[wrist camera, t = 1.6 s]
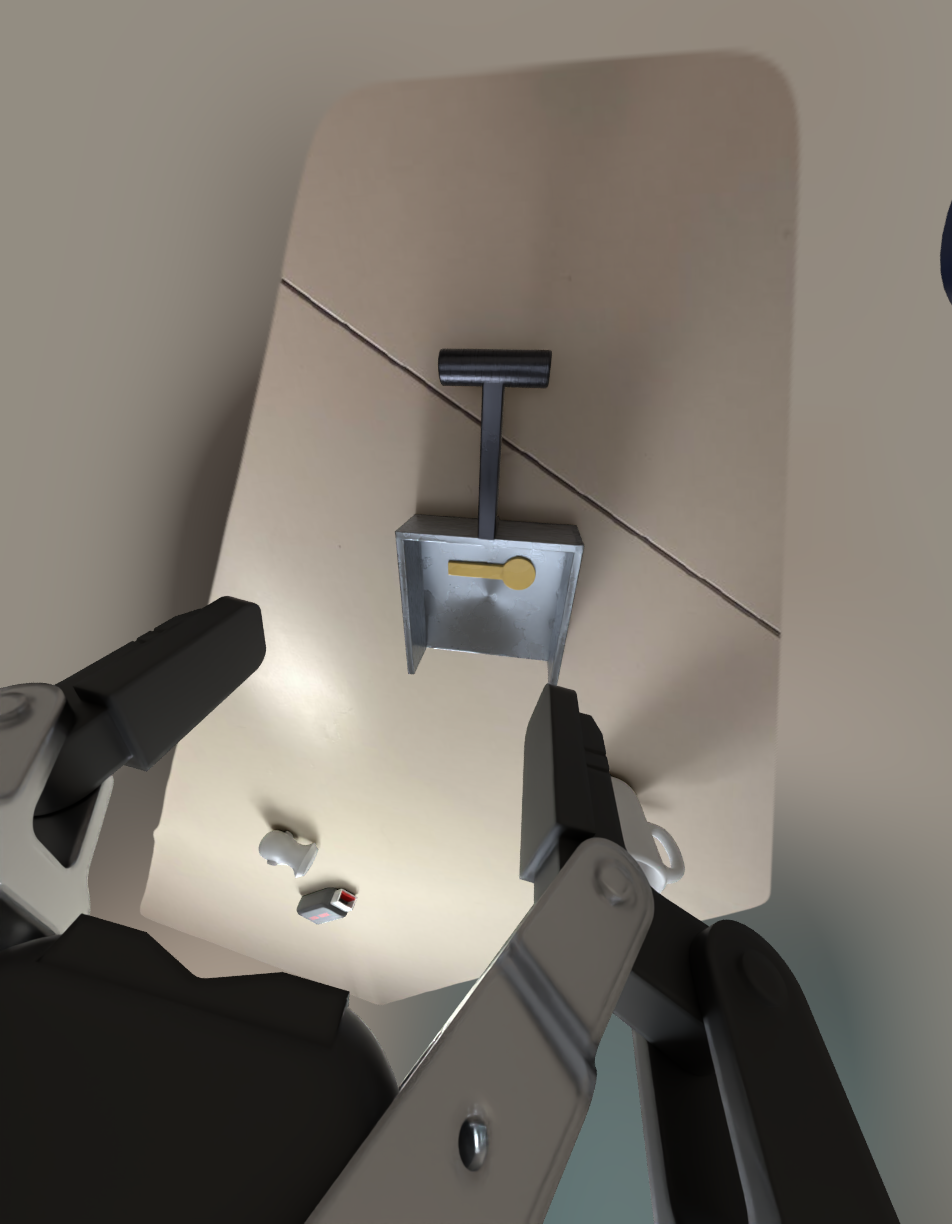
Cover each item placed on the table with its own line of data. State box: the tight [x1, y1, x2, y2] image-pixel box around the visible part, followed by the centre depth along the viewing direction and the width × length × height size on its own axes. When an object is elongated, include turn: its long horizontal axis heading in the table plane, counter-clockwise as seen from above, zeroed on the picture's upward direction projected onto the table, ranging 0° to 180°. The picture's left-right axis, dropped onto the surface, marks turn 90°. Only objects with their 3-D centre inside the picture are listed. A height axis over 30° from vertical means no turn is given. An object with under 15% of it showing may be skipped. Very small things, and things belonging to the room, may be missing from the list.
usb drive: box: [297, 888, 357, 924], centre depth 60 cm, size 5×12×3 cm, turn 133°
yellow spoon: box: [448, 557, 536, 590], centre depth 24 cm, size 6×2×1 cm, turn 89°
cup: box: [611, 777, 685, 893], centre depth 32 cm, size 11×8×8 cm
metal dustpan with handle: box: [395, 349, 584, 686], centre depth 22 cm, size 11×20×5 cm, turn 179°
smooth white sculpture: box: [259, 830, 318, 877], centre depth 50 cm, size 4×8×5 cm
